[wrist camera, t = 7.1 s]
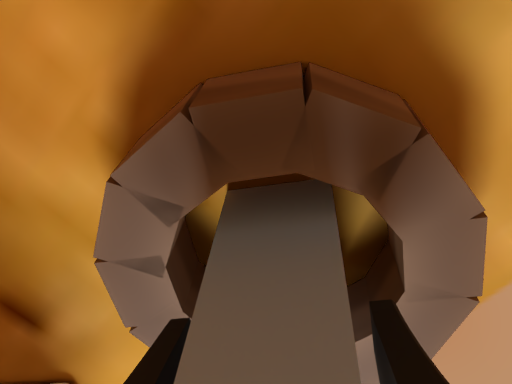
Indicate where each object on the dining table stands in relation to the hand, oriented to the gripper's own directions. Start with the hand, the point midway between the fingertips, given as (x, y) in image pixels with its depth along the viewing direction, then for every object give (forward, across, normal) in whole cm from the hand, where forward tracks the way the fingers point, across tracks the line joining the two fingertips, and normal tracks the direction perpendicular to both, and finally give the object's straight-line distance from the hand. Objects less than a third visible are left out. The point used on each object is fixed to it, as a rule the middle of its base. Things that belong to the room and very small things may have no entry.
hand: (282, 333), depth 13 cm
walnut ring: (+5, 0, 0) cm, 5 cm away
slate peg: (+5, 0, 0) cm, 5 cm away
